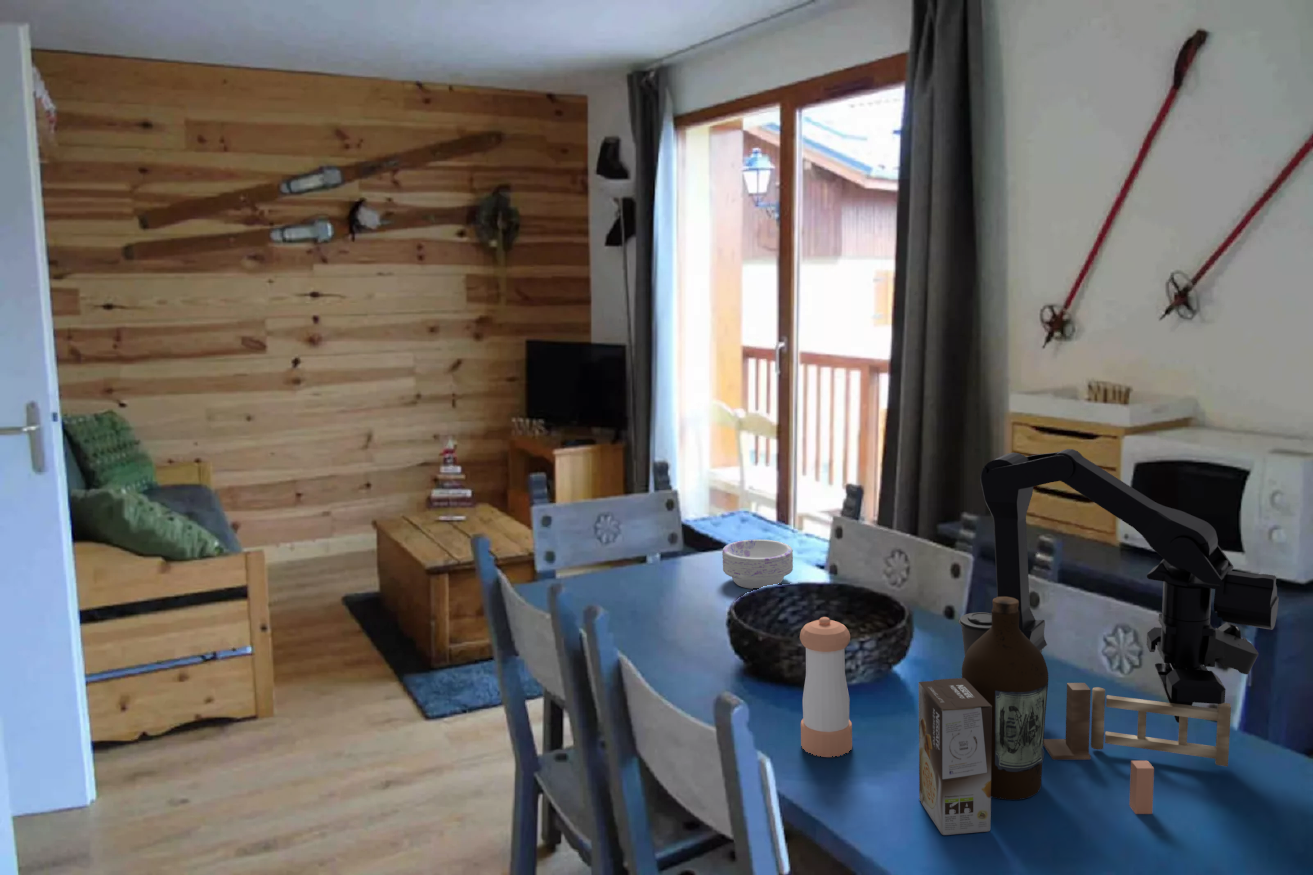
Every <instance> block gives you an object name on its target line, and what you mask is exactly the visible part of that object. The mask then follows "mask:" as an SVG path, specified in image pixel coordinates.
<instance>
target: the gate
mask: <svg viewBox="0 0 1313 875" xmlns="http://www.w3.org/2000/svg"><path fill="white" fill-rule="evenodd" d="M1091 692H1092V694H1091V696H1092V697H1091V723H1090V725H1091V729H1090V731H1091V732H1090V748H1091V749H1094V750H1103V749H1104V743H1105V744H1106V745H1107V744H1108V745H1115V746H1123V747H1131V748H1137V749H1145V750H1150V751H1158V752H1165V753H1173V754H1178V755H1179V754H1180V755H1185V756H1186V755H1187V756H1194V757H1200V758H1208V759H1214V762H1215V765H1216V766H1221V767H1229V754H1230V734H1231V715H1232V714H1231V713H1232V711H1231V710H1232V706H1231V703H1227V702H1225V703H1222V704H1217V708H1213V707H1207V706H1206V707H1205V706H1197V705H1192V706H1191V705H1183V704H1174V703H1169V702H1164V701H1158V700H1157V701H1156V700H1149V699H1142V698H1141V699H1140V698H1134V697H1127V696H1126V697H1124V696H1118V695H1117V696H1115V695H1109V694H1107V695H1106V689H1105V688H1102V687H1099V686H1096V687H1093V688H1092V691H1091ZM1105 706H1106V707H1107V708H1112V709H1122V710H1128V711H1129V710H1130V711H1136V712H1137V715H1138V716H1137V733H1136V734H1137V735H1135V734H1129V733H1128V734H1127V733H1120V732H1113V731H1107V730H1106V731H1105V708H1106V707H1105ZM1147 713H1152V714H1160V715H1166V716H1167V715H1168V716H1179V723H1178V738H1177V740H1172V739H1171V740H1170V739H1164V738H1159V737H1158V738H1157V737H1149V736H1146V735H1147V733H1146V732H1147ZM1189 718H1192V719H1197V720H1199V719H1200V720H1205V721H1207V720H1208V721H1216V735H1215V736H1216V737H1215V739H1216V740H1215V746H1214V745H1209V744H1208V745H1207V744H1202V743H1194V742H1188V726H1189V724H1188V722H1189Z"/></svg>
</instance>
